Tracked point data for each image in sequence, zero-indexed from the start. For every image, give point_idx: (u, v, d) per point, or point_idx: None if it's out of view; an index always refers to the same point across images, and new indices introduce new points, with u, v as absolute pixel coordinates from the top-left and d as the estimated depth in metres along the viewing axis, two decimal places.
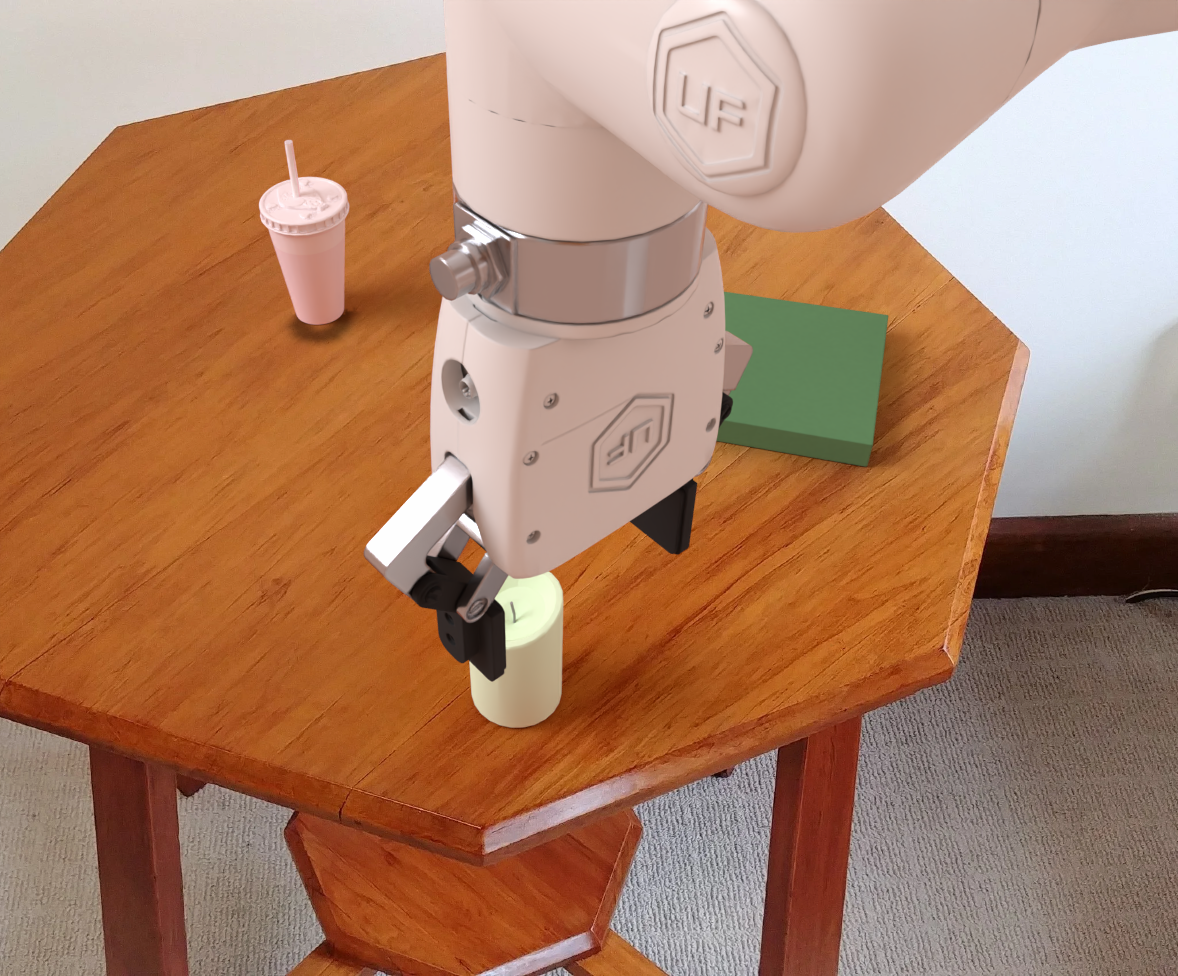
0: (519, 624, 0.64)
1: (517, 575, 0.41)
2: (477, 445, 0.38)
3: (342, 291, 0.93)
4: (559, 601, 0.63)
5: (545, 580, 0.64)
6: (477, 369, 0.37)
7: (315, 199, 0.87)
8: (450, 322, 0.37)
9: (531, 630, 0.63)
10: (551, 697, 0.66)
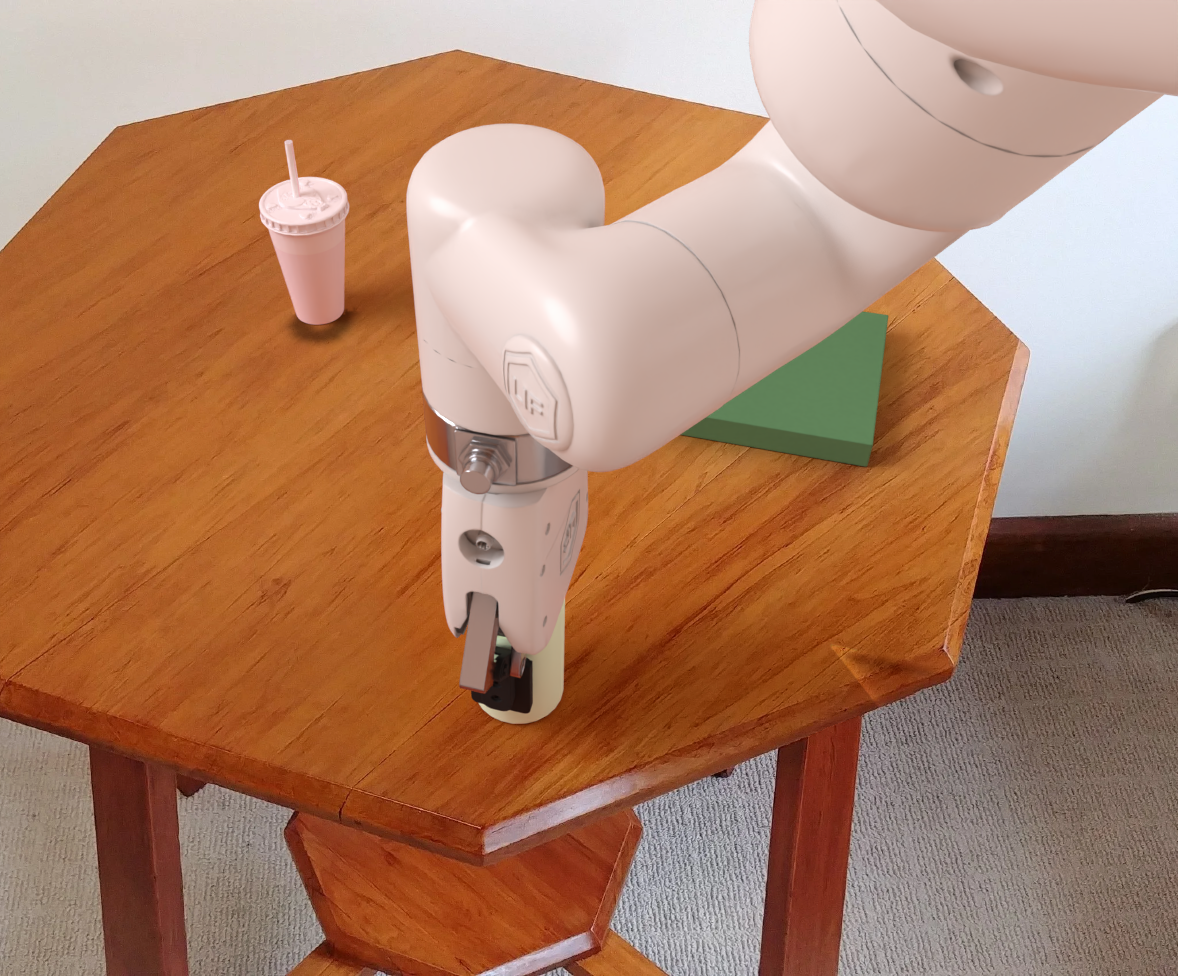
0: None
1: (538, 651, 0.58)
2: (502, 578, 0.54)
3: (342, 291, 0.93)
4: None
5: None
6: (498, 529, 0.52)
7: (315, 199, 0.87)
8: (463, 506, 0.53)
9: None
10: (553, 693, 0.66)
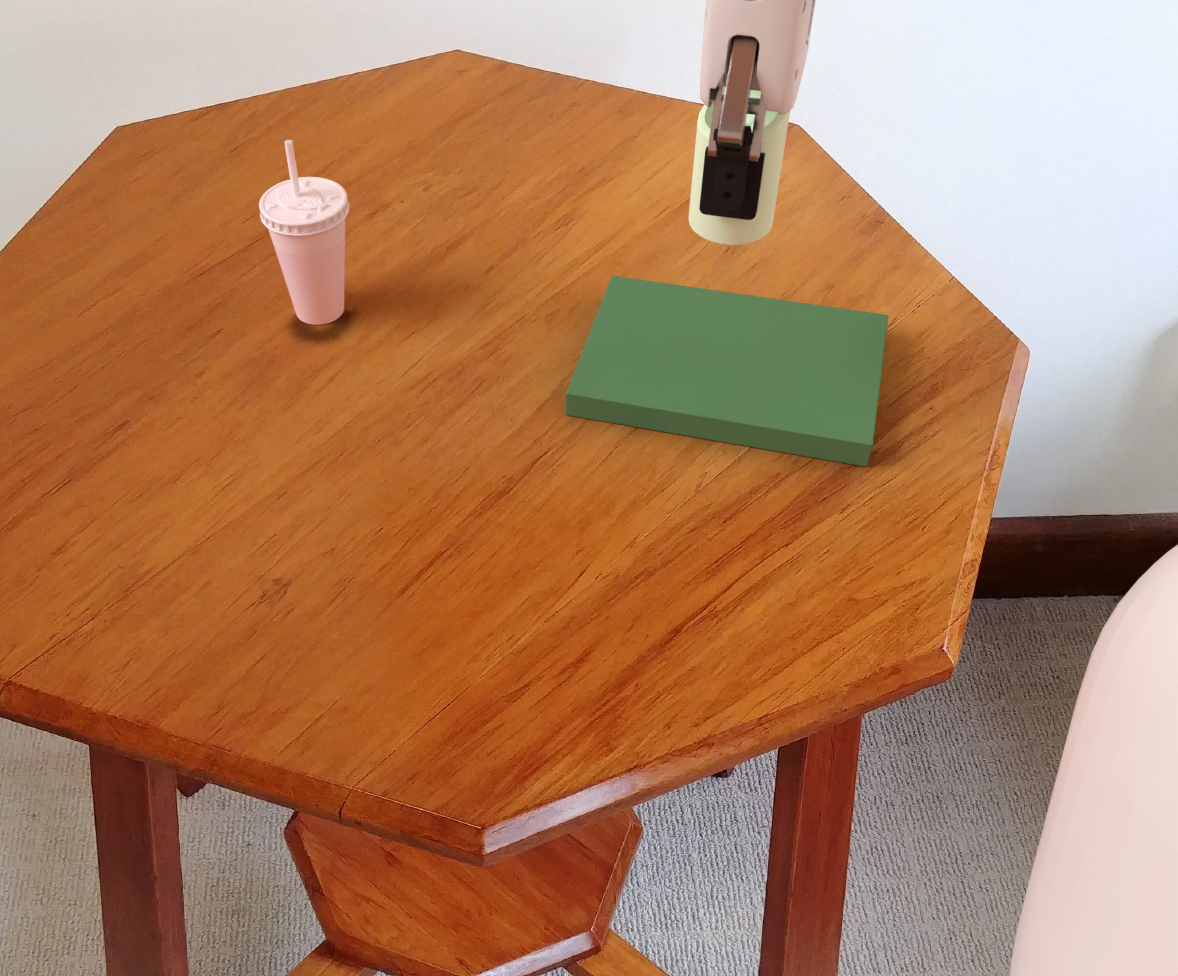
0: None
1: (786, 108, 0.63)
2: (768, 12, 0.60)
3: (342, 291, 0.93)
4: None
5: None
6: None
7: (315, 199, 0.87)
8: None
9: None
10: (769, 212, 0.72)
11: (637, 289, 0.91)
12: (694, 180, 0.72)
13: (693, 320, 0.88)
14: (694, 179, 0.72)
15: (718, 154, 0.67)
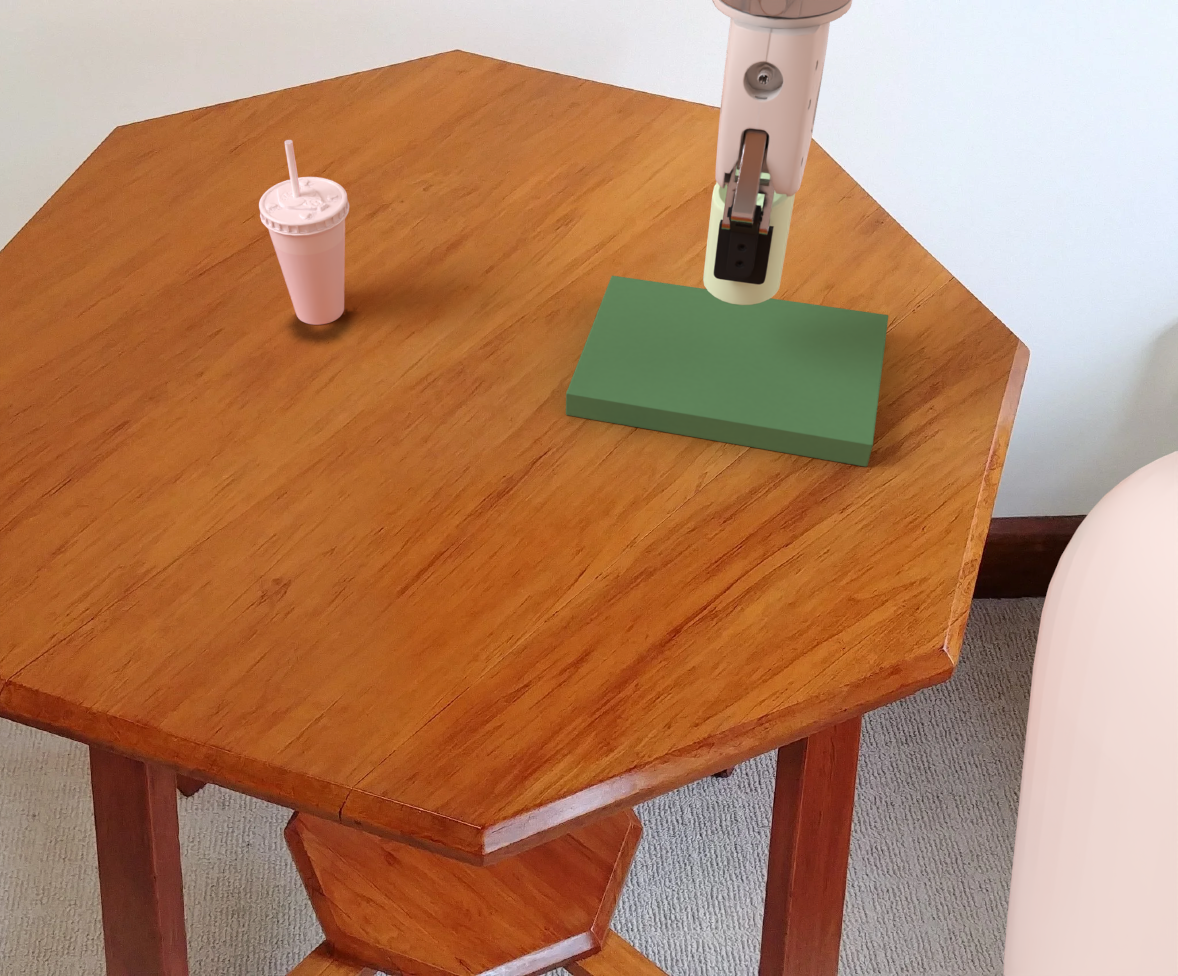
0: (758, 203, 0.77)
1: (793, 191, 0.71)
2: (777, 109, 0.67)
3: (342, 291, 0.93)
4: None
5: None
6: (781, 58, 0.65)
7: (315, 199, 0.87)
8: (752, 41, 0.66)
9: None
10: (777, 276, 0.79)
11: (637, 289, 0.91)
12: (709, 246, 0.79)
13: (693, 320, 0.88)
14: (709, 245, 0.79)
15: (731, 228, 0.74)
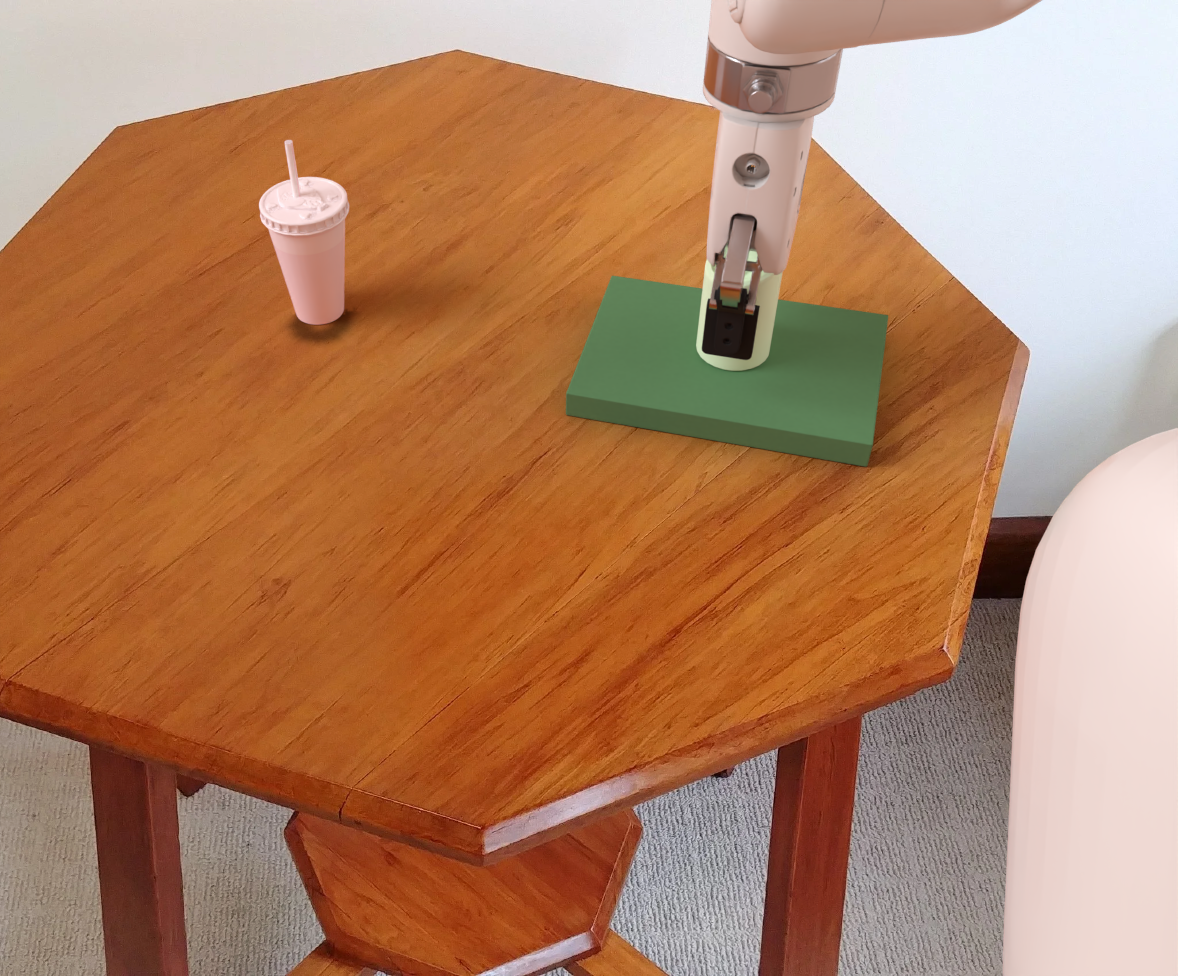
0: (748, 275, 0.81)
1: (780, 271, 0.74)
2: (764, 197, 0.71)
3: (342, 291, 0.93)
4: None
5: None
6: (768, 150, 0.69)
7: (315, 199, 0.87)
8: (740, 134, 0.69)
9: None
10: (766, 343, 0.83)
11: (637, 289, 0.91)
12: (701, 315, 0.83)
13: (693, 320, 0.88)
14: (701, 314, 0.83)
15: (718, 309, 0.76)
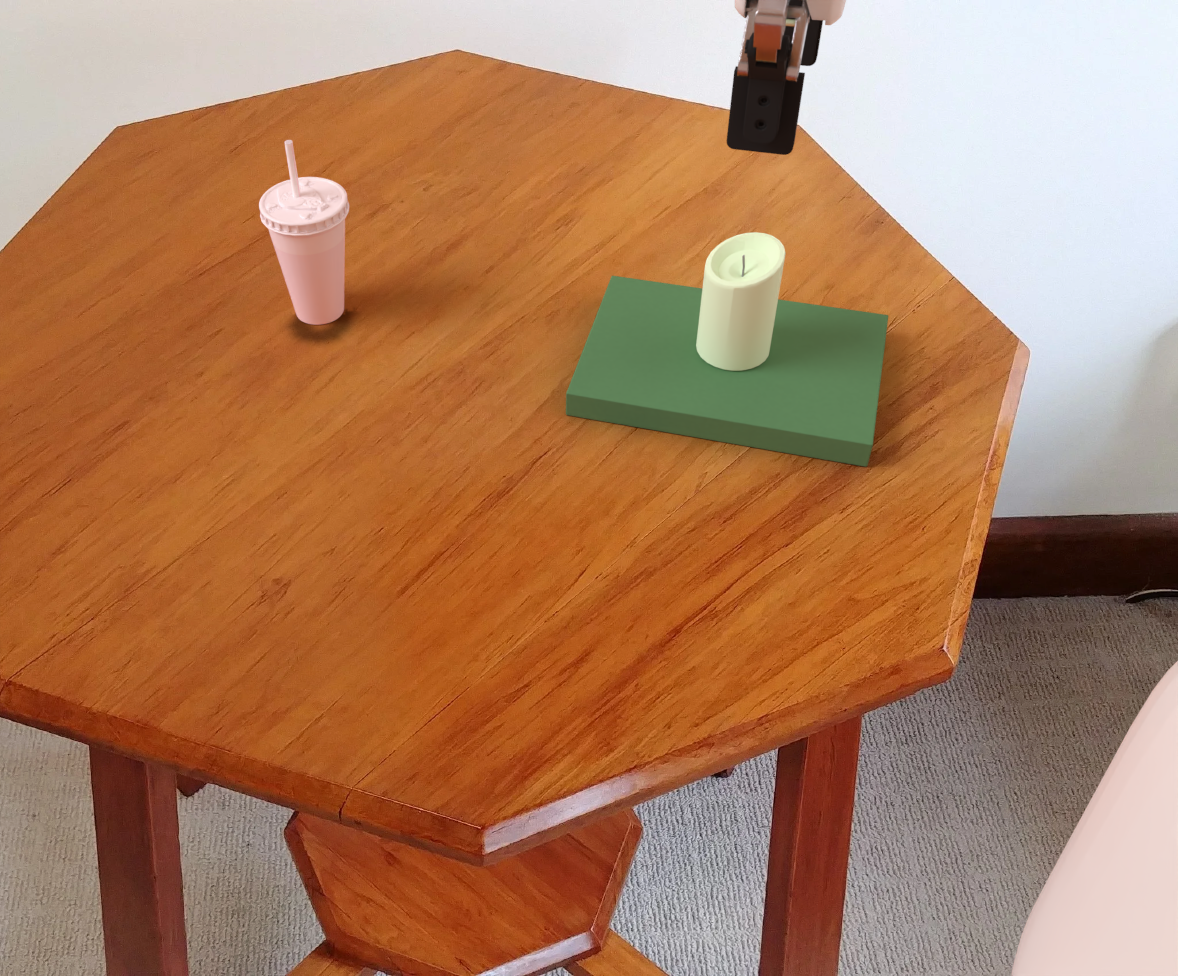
0: (748, 276, 0.81)
1: (834, 16, 0.56)
2: None
3: (342, 291, 0.93)
4: (782, 253, 0.80)
5: (768, 241, 0.81)
6: None
7: (315, 199, 0.87)
8: None
9: (759, 276, 0.80)
10: (766, 343, 0.83)
11: (637, 289, 0.91)
12: (701, 315, 0.83)
13: (693, 320, 0.88)
14: (701, 314, 0.83)
15: (750, 72, 0.57)
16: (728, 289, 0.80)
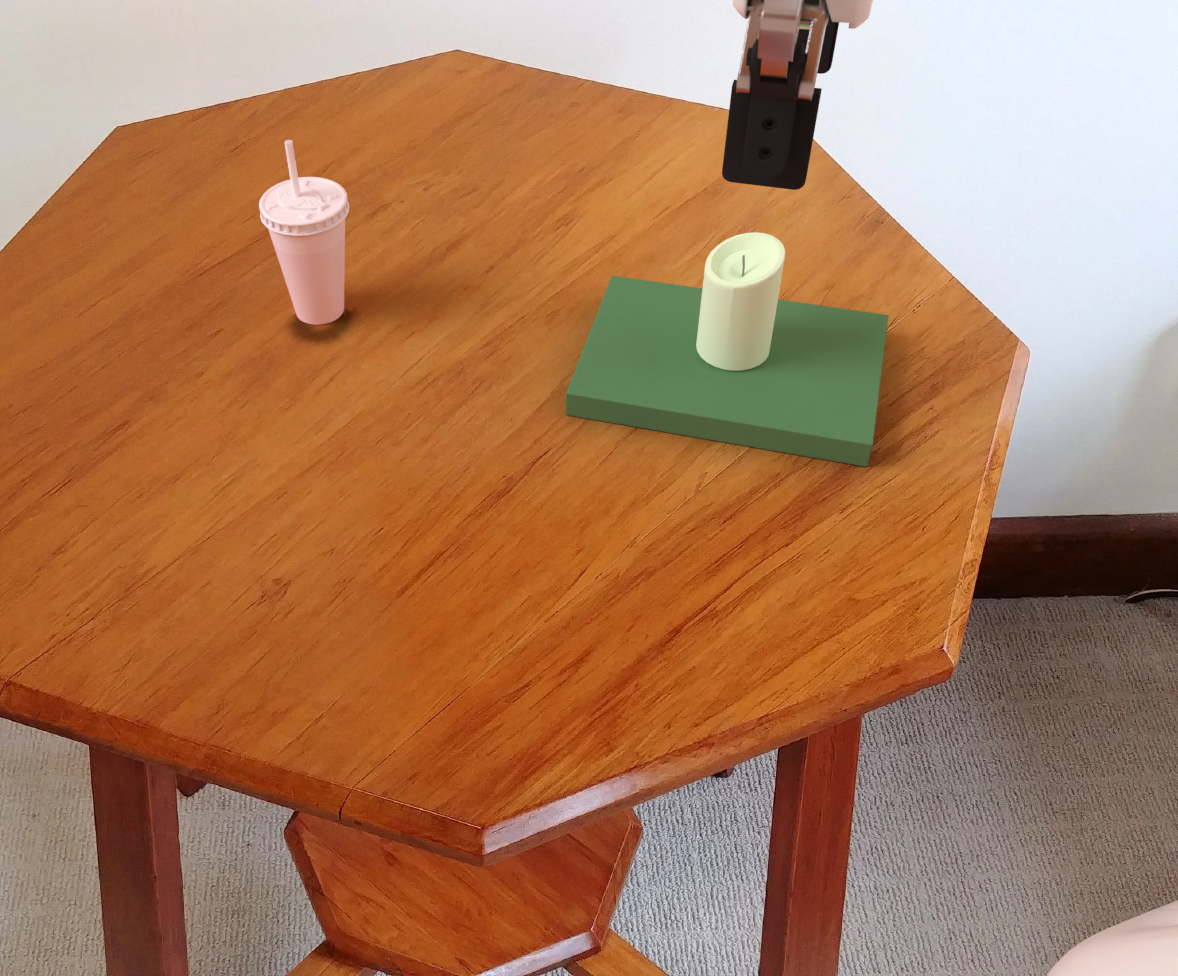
0: (748, 276, 0.81)
1: (860, 18, 0.43)
2: None
3: (342, 291, 0.93)
4: (782, 252, 0.80)
5: (768, 241, 0.81)
6: None
7: (315, 199, 0.87)
8: None
9: (759, 276, 0.80)
10: (766, 343, 0.83)
11: (637, 289, 0.91)
12: (701, 315, 0.83)
13: (693, 320, 0.88)
14: (701, 314, 0.83)
15: (752, 89, 0.44)
16: (728, 289, 0.80)
